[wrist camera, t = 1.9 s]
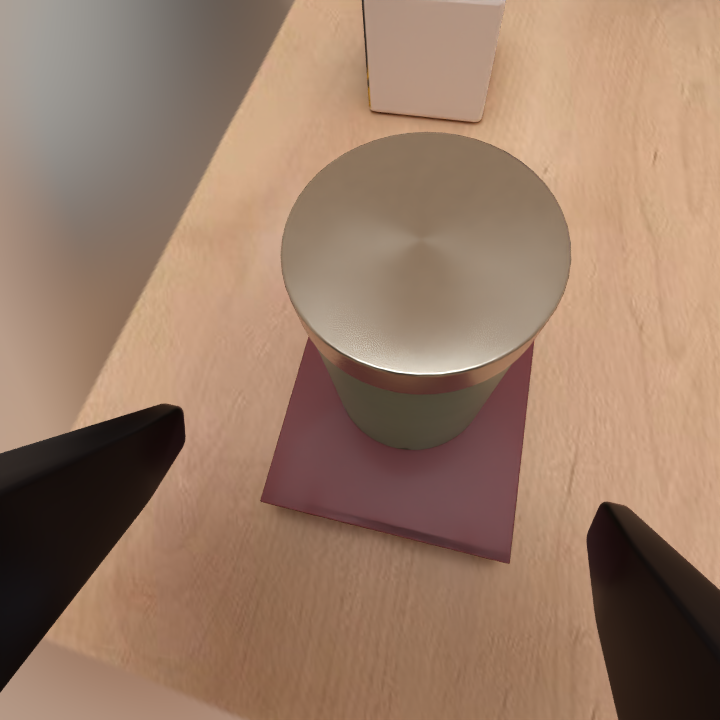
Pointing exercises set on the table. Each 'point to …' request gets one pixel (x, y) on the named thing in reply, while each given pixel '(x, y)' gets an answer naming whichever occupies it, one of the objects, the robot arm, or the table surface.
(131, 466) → the robot arm
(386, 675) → the table surface
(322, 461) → the book
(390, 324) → the tea tin
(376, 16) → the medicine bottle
